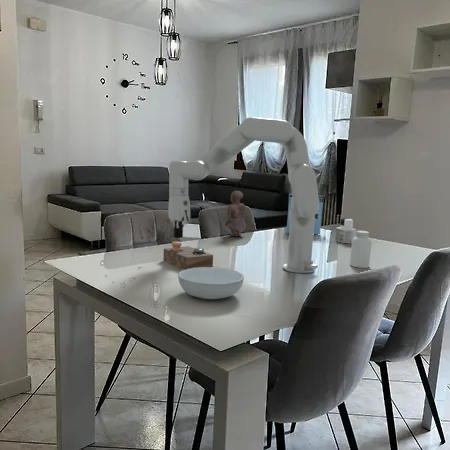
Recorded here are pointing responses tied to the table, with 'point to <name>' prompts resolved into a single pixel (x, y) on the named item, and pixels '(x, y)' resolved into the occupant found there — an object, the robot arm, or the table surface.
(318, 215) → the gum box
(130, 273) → the table surface
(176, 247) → the rust plug
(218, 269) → the serving bowl
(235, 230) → the clay figurine
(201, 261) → the block
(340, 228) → the container
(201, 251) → the plug
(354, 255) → the pill bottle
